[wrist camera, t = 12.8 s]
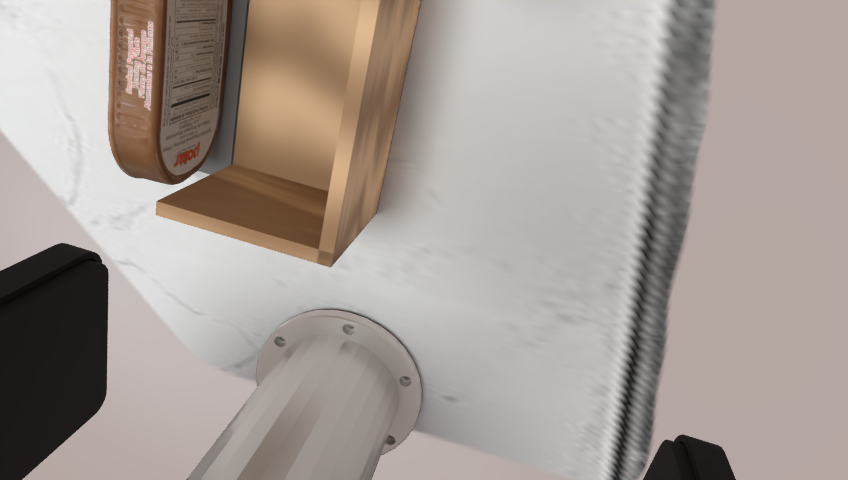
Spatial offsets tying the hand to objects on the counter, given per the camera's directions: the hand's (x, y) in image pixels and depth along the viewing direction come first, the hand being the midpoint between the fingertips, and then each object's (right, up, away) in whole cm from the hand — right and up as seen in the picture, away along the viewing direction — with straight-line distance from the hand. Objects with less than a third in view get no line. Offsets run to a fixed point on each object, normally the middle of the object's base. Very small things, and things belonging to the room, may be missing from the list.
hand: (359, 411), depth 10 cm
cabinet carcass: (-5, +13, +27) cm, 30 cm away
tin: (-12, +15, +28) cm, 34 cm away
